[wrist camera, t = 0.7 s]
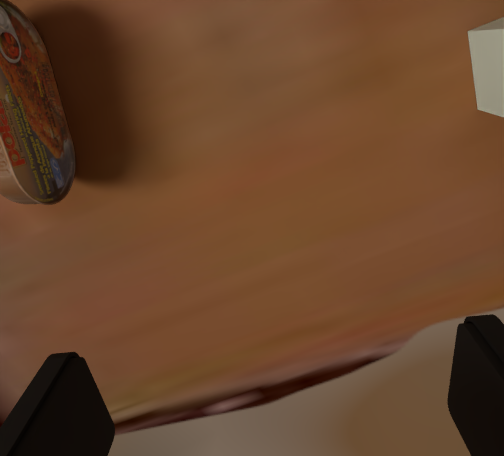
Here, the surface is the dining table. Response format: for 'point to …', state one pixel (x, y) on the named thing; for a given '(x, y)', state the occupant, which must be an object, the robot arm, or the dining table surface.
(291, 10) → the dining table surface
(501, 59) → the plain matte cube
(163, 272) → the dining table surface
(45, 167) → the tin
